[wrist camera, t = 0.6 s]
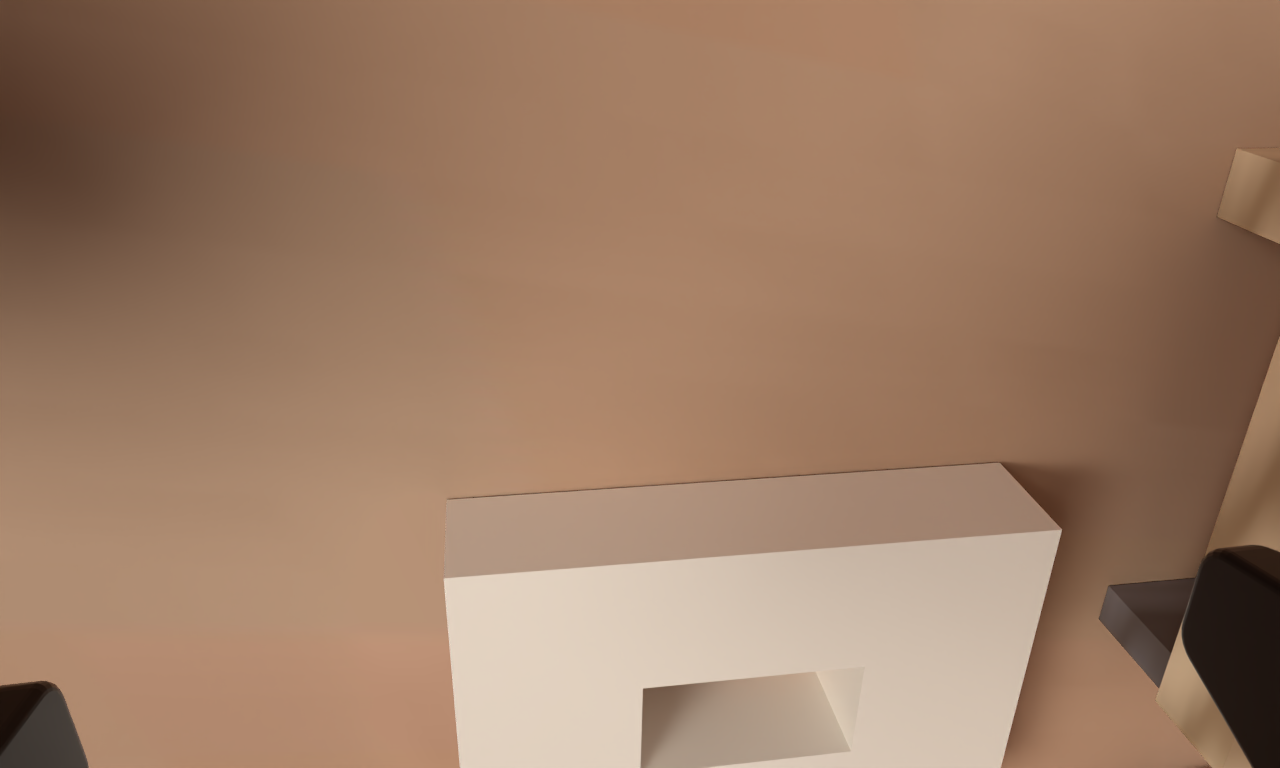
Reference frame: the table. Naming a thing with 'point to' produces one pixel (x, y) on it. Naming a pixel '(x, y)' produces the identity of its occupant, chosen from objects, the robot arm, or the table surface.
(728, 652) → the white slotted block
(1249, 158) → the tan elongated block
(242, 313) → the table surface
